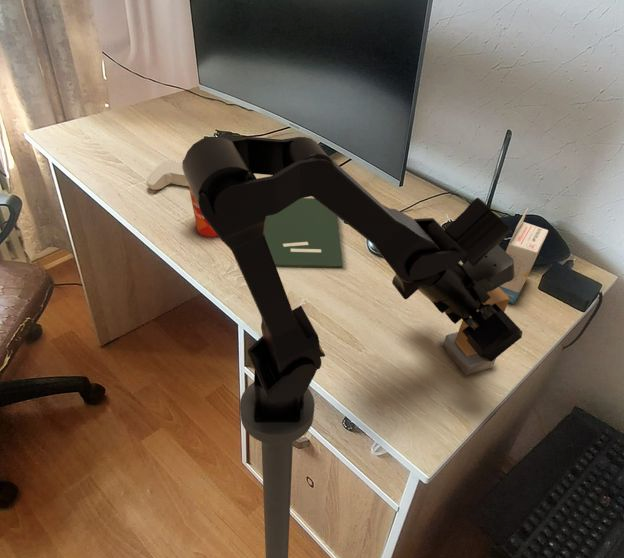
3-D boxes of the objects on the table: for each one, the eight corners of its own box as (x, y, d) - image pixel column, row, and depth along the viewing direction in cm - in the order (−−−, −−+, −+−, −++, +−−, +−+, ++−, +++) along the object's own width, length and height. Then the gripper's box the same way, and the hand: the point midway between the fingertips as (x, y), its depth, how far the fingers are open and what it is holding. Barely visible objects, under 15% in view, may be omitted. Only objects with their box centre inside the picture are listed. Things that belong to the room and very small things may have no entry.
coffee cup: (184, 226, 107) (173, 156, 96) (217, 213, 111) (211, 144, 100) (207, 245, 103) (199, 175, 92) (241, 231, 107) (237, 161, 96)
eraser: (465, 375, 83) (491, 313, 73) (442, 345, 87) (464, 282, 77) (491, 367, 84) (520, 305, 74) (467, 338, 89) (491, 276, 79)
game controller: (140, 180, 112) (158, 151, 117) (146, 196, 116) (163, 167, 121) (203, 191, 110) (219, 161, 115) (207, 207, 114) (222, 177, 119)
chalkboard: (342, 268, 100) (342, 265, 100) (259, 266, 99) (259, 263, 99) (335, 201, 116) (335, 198, 116) (263, 199, 116) (263, 196, 115)
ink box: (514, 305, 95) (544, 237, 84) (487, 295, 97) (514, 227, 86) (526, 281, 100) (556, 214, 90) (500, 271, 102) (527, 205, 91)
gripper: (536, 283, 61) (571, 328, 73) (452, 201, 73) (493, 252, 84) (463, 344, 65) (506, 379, 76) (393, 257, 76) (440, 298, 88)
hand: (486, 323), depth 81 cm, fingers closed on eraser, 3 cm apart
